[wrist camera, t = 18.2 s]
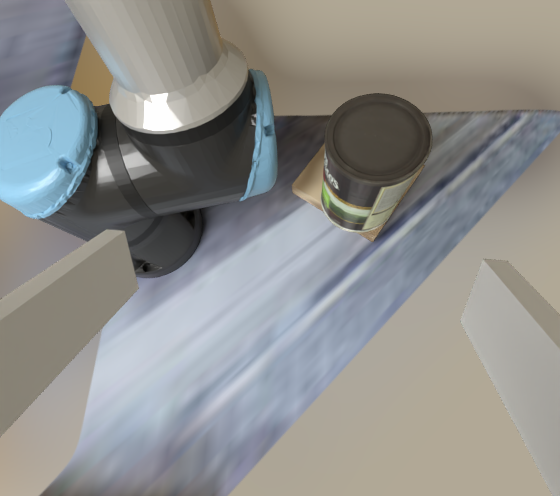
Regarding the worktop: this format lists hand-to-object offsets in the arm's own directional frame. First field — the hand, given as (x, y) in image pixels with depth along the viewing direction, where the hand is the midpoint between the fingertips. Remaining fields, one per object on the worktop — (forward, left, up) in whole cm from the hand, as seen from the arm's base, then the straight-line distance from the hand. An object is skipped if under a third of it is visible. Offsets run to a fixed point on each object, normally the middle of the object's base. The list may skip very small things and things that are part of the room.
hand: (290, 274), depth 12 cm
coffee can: (-4, +18, -29) cm, 35 cm away
